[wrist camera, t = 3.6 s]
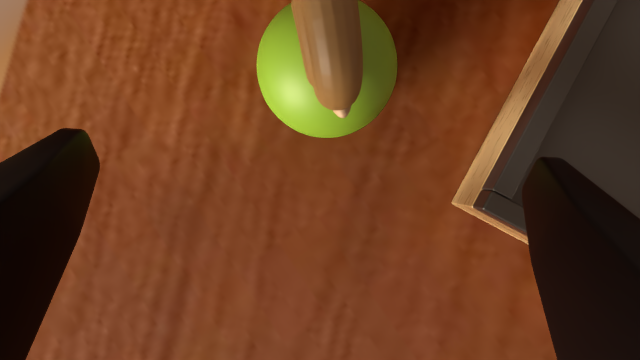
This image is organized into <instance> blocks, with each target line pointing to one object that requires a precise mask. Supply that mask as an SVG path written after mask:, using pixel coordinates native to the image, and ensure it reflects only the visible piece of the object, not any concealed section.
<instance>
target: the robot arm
mask: <svg viewBox="0 0 640 360" xmlns="http://www.w3.org/2000/svg"><path fill="white" fill-rule="evenodd" d="M99 169H100V162H99V158H98V156H97V154H96V151H95V149H94V147H93V145H92V142H91V140H90V138H89V136H88V134H87V133H86V132H85V131H84V130H82V129H71V128H63V129H60V130H58V131H56V132H54V133H53V134H51V135H49V136H47V137H45V138H44V139H42V140H40V141H38V142H37V143H35V144H33V145H31V146H29V147H28V148H26V149H24V150H22V151H20V152H19V153H17V154H15V155H13V156H12V157H10V158H8V159H6V160H4V161H3V162H1V163H0V360H25V359H26V357H27V355H28V353H29V350H30V348H31V346H32V343H33V341H34V339H35V337H36V334H37V332H38V330H39V327H40V325H41V323H42V321H43V318H44V316H45V314H46V311H47V309H48V307H49V304H50V302H51V300H52V298H53V295H54V293H55V291H56V288H57V286H58V284H59V282H60V279H61V277H62V275H63V272H64V270H65V268H66V266H67V263H68V261H69V259H70V256H71V254H72V252H73V250H74V247H75V245H76V242H77V240H78V238H79V235H80V232H81V229H82V226H83V224H84V220H85V217H86V214H87V210H88V207H89V204H90V200H91V197H92V194H93V190H94V187H95V184H96V180H97V177H98V174H99ZM522 203H523V210H524V217H525V224H526V231H527V238H528V245H529V252H530V257H531V263H532V267H533V271H534V275H535V279H536V283H537V286H538V290H539V294H540V297H541V301H542V305H543V308H544V312H545V316H546V319H547V323H548V327H549V331H550V334H551V338H552V342H553V345H554V349H555V353H556V356H557V360H640V219H639V218H638V217H637V216H636V215H634V214H633V213H632V212H630V211H629V210H628V209H627V208H625V207H624V206H623V205H622V204H620V203H619V202H618V201H616V200H615V199H614V198H613V197H611V196H610V195H609V194H607V193H606V192H605V191H604V190H602V189H601V188H600V187H599V186H597V185H596V184H595V183H593V182H592V181H591V180H590V179H588V178H587V177H586V176H584V175H583V174H582V173H581V172H579V171H578V170H577V169H575V168H574V167H573V166H572V165H570V164H569V163H568V162H567V161H565V160H564V159H562V158H558V157H540V158H538V159H537V160H536V162H535V163H534V165H533V167H532V169H531V171H530V173H529V175H528V177H527V179H526V181H525V182H524V185H523V187H522Z"/></svg>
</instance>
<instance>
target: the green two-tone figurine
mask: <svg viewBox="0 0 640 360" xmlns="http://www.w3.org/2000/svg"><path fill="white" fill-rule="evenodd" d="M257 76H258V82H259V86H260V89H261V92H262V94H263V97H264V99H265V101H266V102H267V104H268V106H269V107H270V109H271V110H272V111H273V112H274V114H275V115H276V116H277V117H278V118H279V119H280V120H281V121H282V122H284V123H285V124H286V125H288V126H289V127H291V128H292V129H294V130H296V131H298V132H300V133H303V134H306V135H309V136H314V137H320V138H333V137H340V136H344V135H348V134H351V133H353V132H355V131H357V130H359V129H361V128H363V127H364V126H366V125H367V124H369V123H370V122H371V121H372V120H373V119H375V118H376V117H377V116H378V114H379V113H380V112H381V111H382V110H383V108H384V107H385V105H386V104H387V102H388V100H389V98H390V96H391V94H392V91H393V89H394V85H395V82H396V76H397V53H396V48H395V44H394V41H393V38H392V36H391V34H390V32H389V30H388V28H387V26H386V25H385V23H384V22H383V20H382V19H381V18H380V17H379V15H378V14H377V13H376V12H375V11H374V10H372V9H371V8H370V7H369V6H367V5H366V4H364V3H363V2H361V1H359V0H292V2H291V3H290V4H289V5H287V6H286V7H284V8H283V9H282V10H281V11H280V12H279V13H278V14H277V15H276V16H275V17H274V18H273V19H272V21H271V22H270V24H269V25H268V27H267V28H266V30H265V32H264V34H263V37H262V39H261V42H260V45H259V49H258V54H257Z"/></svg>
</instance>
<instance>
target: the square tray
mask: <svg viewBox="0 0 640 360" xmlns="http://www.w3.org/2000/svg"><path fill="white" fill-rule="evenodd" d="M540 157H558V158H562V159H564V160H565V161H567V162H568V163H569V164H570V165H572V166H573V167H574V168H575V169H577V170H578V171H579V172H581V173H582V174H583V175H584V176H586V177H587V178H588V179H590V180H591V181H592V182H593V183H595V184H596V185H597V186H599V187H600V188H601V189H602V190H604V191H605V192H606V193H607V194H609V195H610V196H611V197H613V198H614V199H615V200H616V201H618V202H619V203H620V204H622V205H623V206H624V207H625V208H627V209H628V210H629V211H630V212H632V213H633V214H634V215H636V216H637V217H638V218H639V219H640V0H560V1H559V3H558V4H557V6H556V8H555V10H554V12H553V14H552V16H551V17H550V19H549V21H548V23H547V25H546V27H545V29H544V31H543V32H542V34H541V36H540V38H539V40H538V42H537V44H536V45H535V47H534V49H533V51H532V53H531V55H530V57H529V59H528V60H527V62H526V64H525V66H524V68H523V70H522V72H521V73H520V75H519V77H518V79H517V81H516V83H515V85H514V87H513V88H512V90H511V92H510V94H509V96H508V98H507V100H506V101H505V103H504V105H503V107H502V109H501V111H500V113H499V115H498V116H497V118H496V120H495V122H494V124H493V126H492V128H491V129H490V131H489V133H488V135H487V137H486V139H485V141H484V143H483V144H482V146H481V148H480V150H479V152H478V154H477V156H476V157H475V159H474V161H473V163H472V165H471V167H470V169H469V171H468V172H467V174H466V176H465V178H464V180H463V182H462V184H461V185H460V187H459V189H458V191H457V193H456V195H455V197H454V199H453V200H452V204H453V205H455V206H457V207H459V208H461V209H462V210H464V211H466V212H468V213H470V214H472V215H474V216H476V217H478V218H479V219H481V220H483V221H485V222H487V223H489V224H491V225H493V226H494V227H496V228H498V229H500V230H502V231H504V232H506V233H508V234H510V235H511V236H513V237H515V238H517V239H519V240H521V241H523V242H525V243H526V244H528V238H527V231H526V224H525V217H524V210H523V203H522V187H523V185H524V182H525V181H526V179H527V177H528V175H529V173H530V171H531V169H532V167H533V165H534V163H535V162H536V160H537V159H538V158H540Z"/></svg>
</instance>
